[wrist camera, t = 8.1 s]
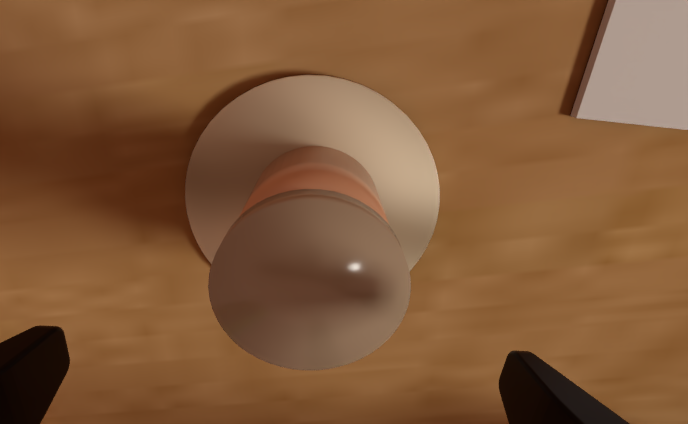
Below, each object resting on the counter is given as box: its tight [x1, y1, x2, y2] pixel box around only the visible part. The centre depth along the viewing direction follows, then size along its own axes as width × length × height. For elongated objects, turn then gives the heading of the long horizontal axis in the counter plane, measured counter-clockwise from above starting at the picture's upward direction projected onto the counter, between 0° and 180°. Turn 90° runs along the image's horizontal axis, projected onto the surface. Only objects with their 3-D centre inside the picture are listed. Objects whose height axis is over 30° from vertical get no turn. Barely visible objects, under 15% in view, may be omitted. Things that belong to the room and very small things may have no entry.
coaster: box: [185, 74, 440, 271], centre depth 16 cm, size 10×10×1 cm
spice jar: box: [208, 146, 411, 370], centre depth 13 cm, size 5×5×6 cm
